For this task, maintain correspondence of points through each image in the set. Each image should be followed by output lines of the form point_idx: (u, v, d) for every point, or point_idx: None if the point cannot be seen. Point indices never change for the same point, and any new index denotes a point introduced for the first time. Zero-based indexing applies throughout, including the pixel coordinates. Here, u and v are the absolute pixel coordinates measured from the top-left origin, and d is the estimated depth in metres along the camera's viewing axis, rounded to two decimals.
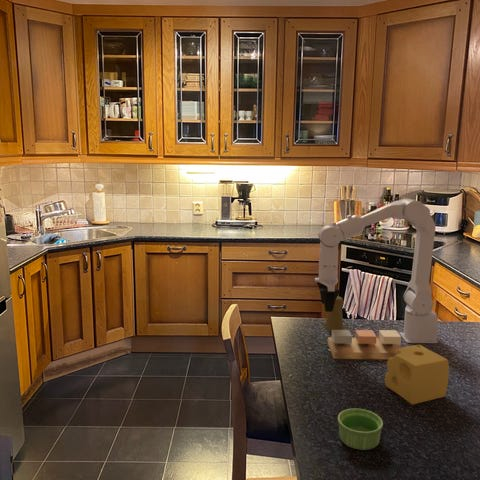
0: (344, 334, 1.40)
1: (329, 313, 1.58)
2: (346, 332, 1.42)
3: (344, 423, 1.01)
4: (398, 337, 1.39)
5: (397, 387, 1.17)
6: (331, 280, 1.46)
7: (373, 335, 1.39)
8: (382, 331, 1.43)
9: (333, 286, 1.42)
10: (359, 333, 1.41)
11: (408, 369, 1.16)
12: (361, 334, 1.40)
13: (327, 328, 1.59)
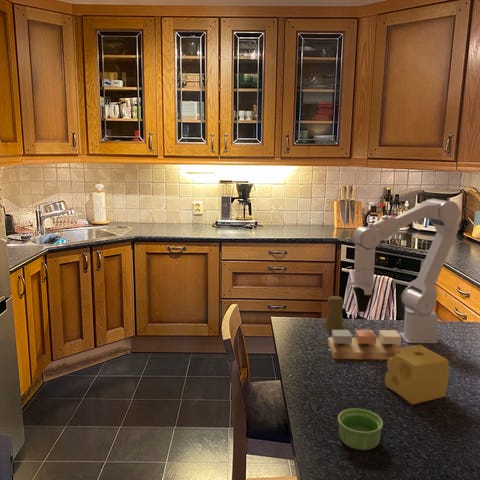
0: (344, 334, 1.40)
1: (329, 313, 1.58)
2: (346, 332, 1.42)
3: (344, 423, 1.01)
4: (398, 337, 1.39)
5: (397, 387, 1.17)
6: (367, 283, 1.41)
7: (373, 335, 1.39)
8: (382, 331, 1.43)
9: (370, 289, 1.37)
10: (359, 333, 1.41)
11: (408, 369, 1.16)
12: (361, 334, 1.40)
13: (327, 328, 1.59)
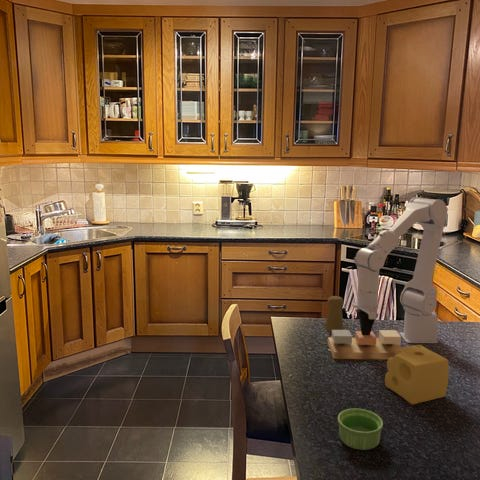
0: (344, 334, 1.40)
1: (329, 313, 1.58)
2: (346, 332, 1.42)
3: (344, 423, 1.01)
4: (398, 337, 1.39)
5: (397, 387, 1.17)
6: (371, 306, 1.37)
7: (373, 336, 1.40)
8: (382, 331, 1.43)
9: (375, 314, 1.33)
10: (359, 334, 1.41)
11: (408, 369, 1.16)
12: (361, 335, 1.40)
13: (327, 328, 1.59)
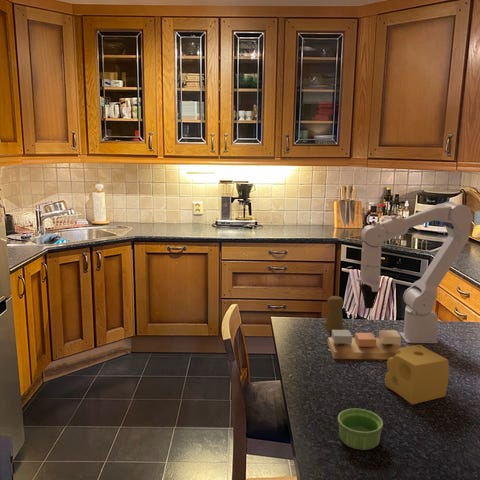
0: (344, 334, 1.40)
1: (329, 313, 1.58)
2: (346, 332, 1.42)
3: (344, 423, 1.01)
4: (398, 337, 1.39)
5: (397, 387, 1.17)
6: (374, 280, 1.45)
7: (373, 338, 1.40)
8: (382, 331, 1.43)
9: (378, 286, 1.41)
10: (359, 336, 1.41)
11: (408, 369, 1.16)
12: (361, 337, 1.41)
13: (327, 328, 1.59)
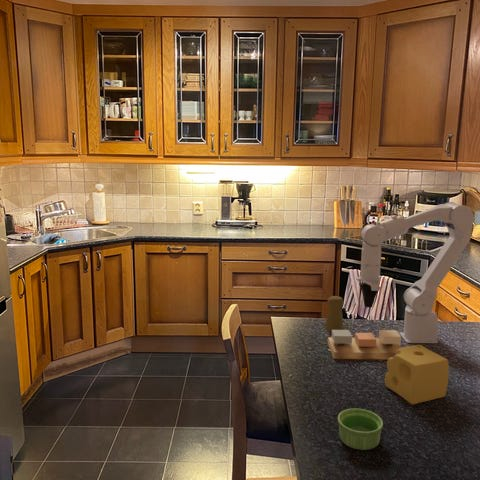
0: (344, 334, 1.40)
1: (329, 313, 1.58)
2: (346, 332, 1.42)
3: (344, 423, 1.01)
4: (398, 337, 1.39)
5: (397, 387, 1.17)
6: (374, 279, 1.46)
7: (373, 338, 1.40)
8: (382, 331, 1.43)
9: (377, 285, 1.41)
10: (359, 336, 1.41)
11: (408, 369, 1.16)
12: (361, 337, 1.41)
13: (327, 328, 1.59)
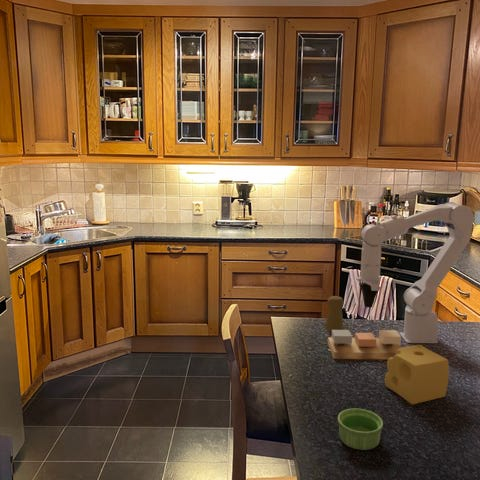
0: (344, 334, 1.40)
1: (329, 313, 1.58)
2: (346, 332, 1.42)
3: (344, 423, 1.01)
4: (398, 337, 1.39)
5: (397, 387, 1.17)
6: (374, 279, 1.46)
7: (373, 338, 1.40)
8: (382, 331, 1.43)
9: (377, 285, 1.41)
10: (359, 336, 1.41)
11: (408, 369, 1.16)
12: (361, 337, 1.41)
13: (327, 328, 1.59)
